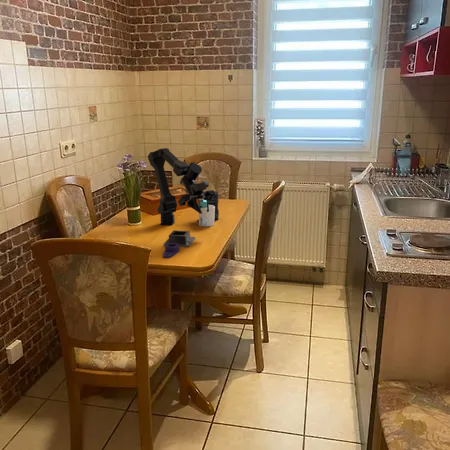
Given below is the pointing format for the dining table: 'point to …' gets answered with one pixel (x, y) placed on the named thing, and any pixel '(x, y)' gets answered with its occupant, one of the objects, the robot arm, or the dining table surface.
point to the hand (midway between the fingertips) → (204, 212)
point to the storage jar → (215, 203)
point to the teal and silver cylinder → (203, 213)
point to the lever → (170, 250)
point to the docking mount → (180, 238)
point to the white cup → (211, 215)
